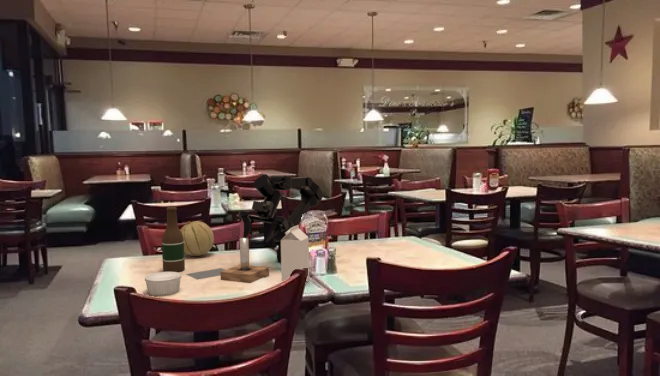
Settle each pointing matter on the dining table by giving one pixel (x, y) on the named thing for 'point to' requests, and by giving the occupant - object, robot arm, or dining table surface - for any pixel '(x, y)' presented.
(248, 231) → the robot arm
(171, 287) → the ramekin
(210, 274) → the rubber mat
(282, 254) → the milk carton
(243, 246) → the steel pin
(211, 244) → the cantaloupe
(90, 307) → the dining table surface
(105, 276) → the dining table surface
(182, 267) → the beer bottle
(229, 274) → the socket block
